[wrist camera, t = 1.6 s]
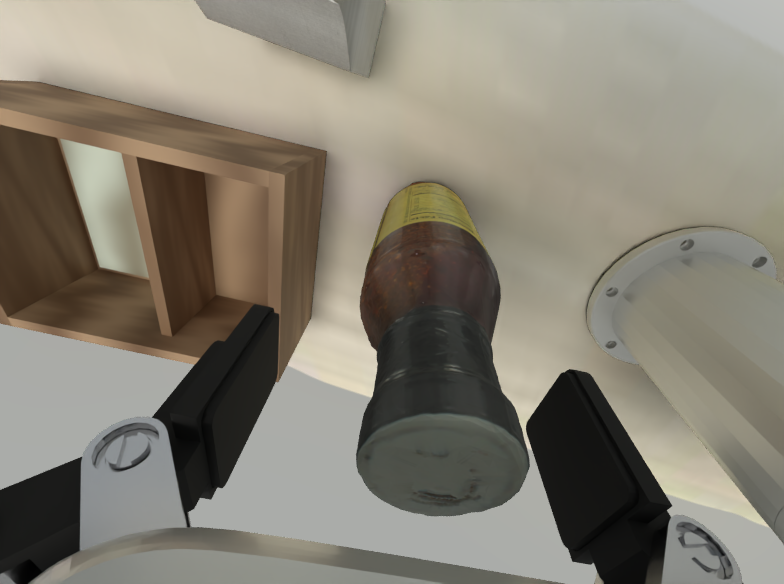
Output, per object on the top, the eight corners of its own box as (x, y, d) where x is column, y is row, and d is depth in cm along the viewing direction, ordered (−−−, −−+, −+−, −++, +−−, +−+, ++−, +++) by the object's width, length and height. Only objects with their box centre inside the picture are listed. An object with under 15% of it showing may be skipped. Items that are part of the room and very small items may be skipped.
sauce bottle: (432, 269, 27) (448, 568, 10) (369, 228, 25) (259, 494, 8) (486, 205, 24) (645, 480, 7) (417, 154, 22) (398, 339, 5)
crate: (326, 151, 23) (284, 174, 16) (310, 318, 30) (278, 382, 24) (37, 81, 22) (-138, 75, 15) (97, 271, 30) (0, 323, 23)
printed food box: (368, 77, 20) (328, 64, 12) (262, 38, 20) (139, -6, 11) (385, 3, 18) (352, -77, 10) (268, -43, 18) (125, -171, 9)
